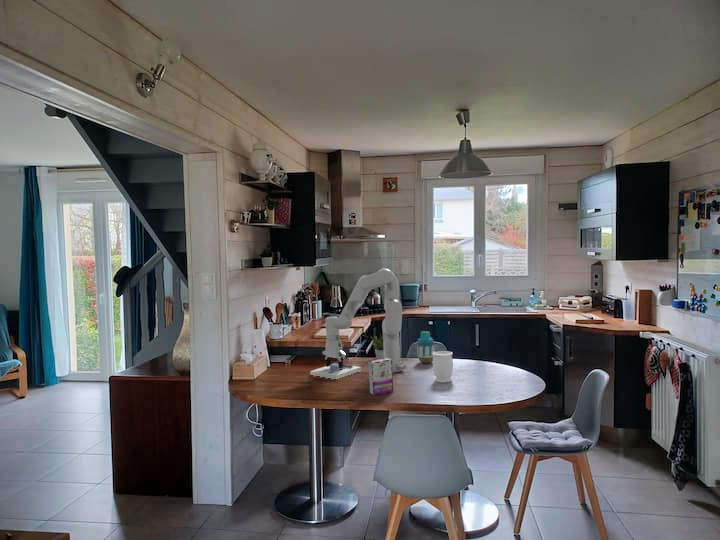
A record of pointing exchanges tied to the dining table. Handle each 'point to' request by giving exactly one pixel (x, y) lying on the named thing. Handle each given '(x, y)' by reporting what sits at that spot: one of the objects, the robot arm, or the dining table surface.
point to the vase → (425, 347)
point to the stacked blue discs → (334, 368)
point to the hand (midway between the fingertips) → (334, 367)
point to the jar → (443, 366)
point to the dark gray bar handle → (345, 365)
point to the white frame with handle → (336, 375)
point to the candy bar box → (380, 376)
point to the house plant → (379, 348)
